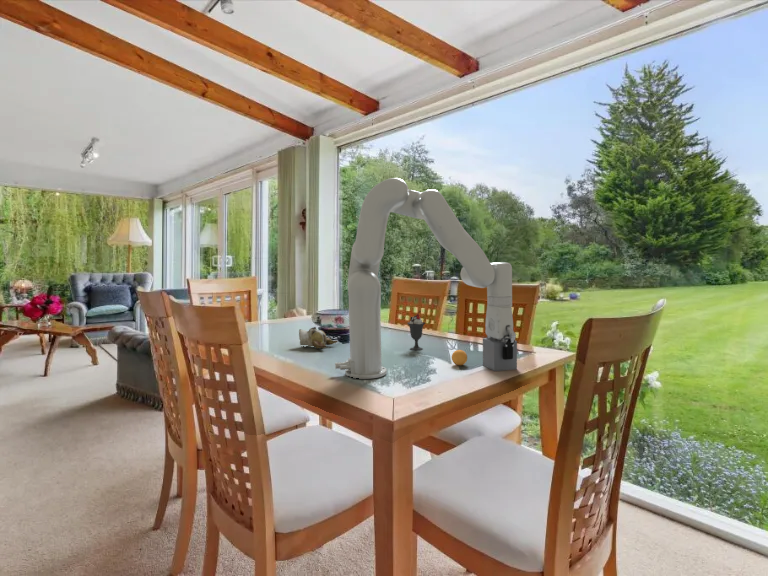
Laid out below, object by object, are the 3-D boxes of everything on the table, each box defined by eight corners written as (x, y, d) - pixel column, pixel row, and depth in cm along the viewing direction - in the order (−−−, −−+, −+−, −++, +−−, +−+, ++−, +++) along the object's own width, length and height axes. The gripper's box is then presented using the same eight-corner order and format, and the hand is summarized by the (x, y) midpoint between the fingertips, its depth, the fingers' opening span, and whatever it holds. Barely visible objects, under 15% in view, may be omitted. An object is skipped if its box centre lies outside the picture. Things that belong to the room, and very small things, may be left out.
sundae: (424, 351, 161) (423, 311, 160) (406, 350, 163) (406, 311, 162) (426, 347, 168) (425, 309, 167) (409, 347, 169) (408, 309, 168)
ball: (455, 367, 137) (455, 352, 137) (449, 363, 142) (449, 348, 142) (469, 366, 138) (469, 351, 138) (463, 362, 143) (463, 347, 143)
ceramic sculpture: (306, 323, 179) (338, 326, 173) (306, 343, 180) (338, 347, 174) (291, 327, 169) (325, 331, 163) (291, 349, 170) (325, 354, 164)
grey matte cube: (494, 371, 132) (494, 342, 132) (482, 365, 140) (482, 338, 139) (516, 369, 134) (516, 341, 133) (504, 363, 142) (504, 336, 141)
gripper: (476, 299, 143) (477, 350, 144) (502, 305, 126) (502, 363, 128) (497, 298, 145) (497, 349, 146) (525, 304, 128) (525, 361, 129)
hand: (500, 355), depth 137 cm, fingers open, 9 cm apart
